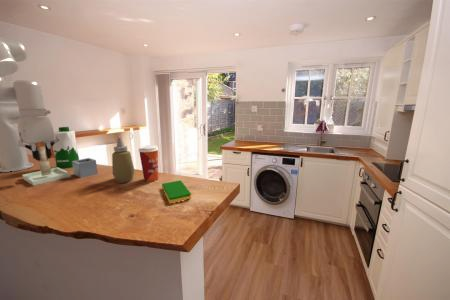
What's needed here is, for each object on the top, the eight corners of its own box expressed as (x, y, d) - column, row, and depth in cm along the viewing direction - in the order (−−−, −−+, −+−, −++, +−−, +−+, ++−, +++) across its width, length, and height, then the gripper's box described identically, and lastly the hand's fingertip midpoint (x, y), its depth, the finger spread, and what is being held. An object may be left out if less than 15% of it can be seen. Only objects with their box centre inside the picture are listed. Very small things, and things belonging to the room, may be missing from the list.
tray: (23, 180, 84) (22, 174, 83) (58, 172, 93) (57, 167, 93) (34, 188, 76) (32, 181, 75) (71, 178, 86) (70, 172, 85)
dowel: (40, 174, 84) (34, 146, 81) (49, 172, 86) (44, 145, 83) (43, 176, 82) (36, 147, 79) (52, 174, 85) (46, 146, 82)
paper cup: (154, 183, 80) (151, 149, 77) (137, 182, 81) (133, 148, 78) (164, 176, 87) (162, 145, 84) (148, 175, 89) (145, 144, 86)
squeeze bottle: (110, 181, 83) (104, 137, 79) (130, 175, 88) (125, 135, 84) (118, 186, 77) (111, 140, 73) (138, 180, 83) (134, 137, 79)
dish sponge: (181, 185, 78) (180, 179, 78) (191, 200, 66) (191, 193, 66) (162, 189, 75) (161, 183, 75) (170, 205, 63) (169, 198, 63)
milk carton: (82, 164, 107) (76, 126, 102) (74, 169, 98) (66, 128, 94) (63, 165, 105) (56, 127, 100) (53, 170, 96) (44, 129, 92)
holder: (74, 176, 88) (71, 161, 86) (91, 172, 93) (88, 157, 92) (81, 179, 84) (78, 163, 83) (98, 175, 90) (95, 160, 88)
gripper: (55, 112, 87) (63, 153, 91) (0, 114, 74) (13, 162, 78) (62, 113, 83) (70, 156, 87) (5, 115, 70) (18, 165, 74)
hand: (43, 158), depth 83 cm, fingers closed on dowel, 2 cm apart
